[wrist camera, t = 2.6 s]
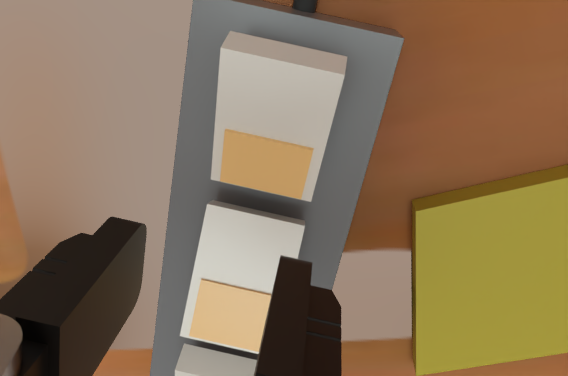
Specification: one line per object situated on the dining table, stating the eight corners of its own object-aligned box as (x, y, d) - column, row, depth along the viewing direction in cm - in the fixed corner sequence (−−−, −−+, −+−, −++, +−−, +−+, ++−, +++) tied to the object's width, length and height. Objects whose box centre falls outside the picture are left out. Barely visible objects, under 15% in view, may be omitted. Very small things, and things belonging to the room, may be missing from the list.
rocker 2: (212, 199, 26) (206, 204, 25) (304, 220, 26) (305, 226, 24) (186, 324, 27) (178, 337, 25) (276, 344, 27) (274, 359, 25)
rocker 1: (230, 30, 21) (219, 49, 19) (347, 56, 21) (344, 77, 19) (219, 159, 25) (209, 182, 24) (314, 180, 25) (310, 204, 24)
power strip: (236, -188, 24) (208, -234, 18) (443, -144, 23) (473, -178, 18) (166, 355, 37) (138, 415, 32) (296, 385, 37) (289, 450, 32)
